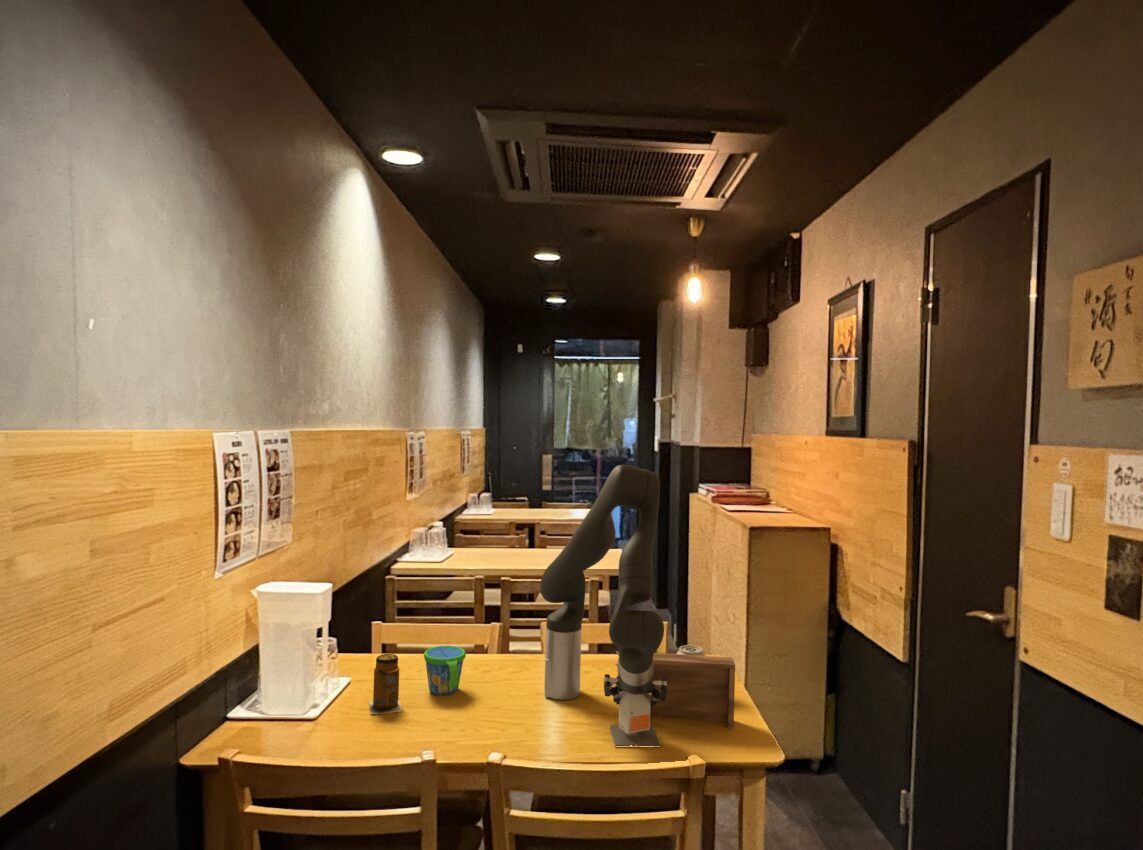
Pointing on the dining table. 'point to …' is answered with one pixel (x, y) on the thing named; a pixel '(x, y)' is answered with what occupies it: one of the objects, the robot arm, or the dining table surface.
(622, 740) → the coaster
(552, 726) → the dining table surface
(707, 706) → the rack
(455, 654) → the snack cup
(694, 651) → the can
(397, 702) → the condiment
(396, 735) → the dining table surface
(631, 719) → the skincare box
